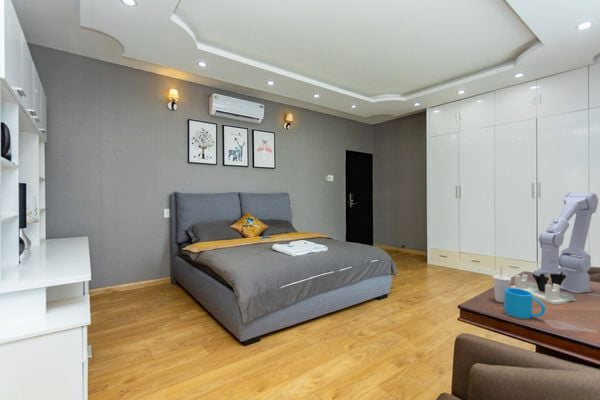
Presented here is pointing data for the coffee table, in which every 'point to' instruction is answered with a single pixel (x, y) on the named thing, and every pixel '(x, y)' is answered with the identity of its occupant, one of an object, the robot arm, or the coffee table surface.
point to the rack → (549, 295)
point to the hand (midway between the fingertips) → (548, 290)
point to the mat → (559, 298)
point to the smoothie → (500, 286)
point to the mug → (520, 303)
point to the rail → (562, 294)
